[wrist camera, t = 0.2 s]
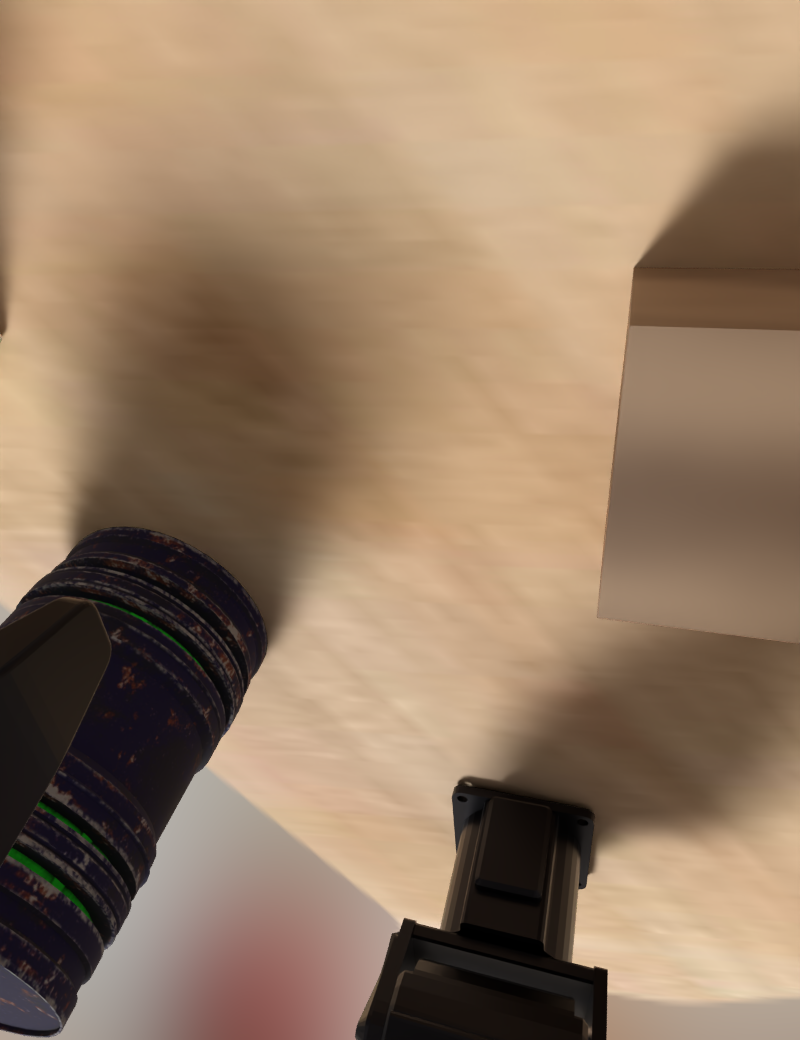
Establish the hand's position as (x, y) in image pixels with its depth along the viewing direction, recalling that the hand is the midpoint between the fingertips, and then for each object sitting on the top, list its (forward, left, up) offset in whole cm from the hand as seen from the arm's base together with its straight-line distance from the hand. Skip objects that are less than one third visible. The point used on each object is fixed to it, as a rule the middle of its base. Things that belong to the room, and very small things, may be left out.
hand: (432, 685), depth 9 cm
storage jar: (-16, +17, -15) cm, 27 cm away
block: (-5, -6, -15) cm, 17 cm away
